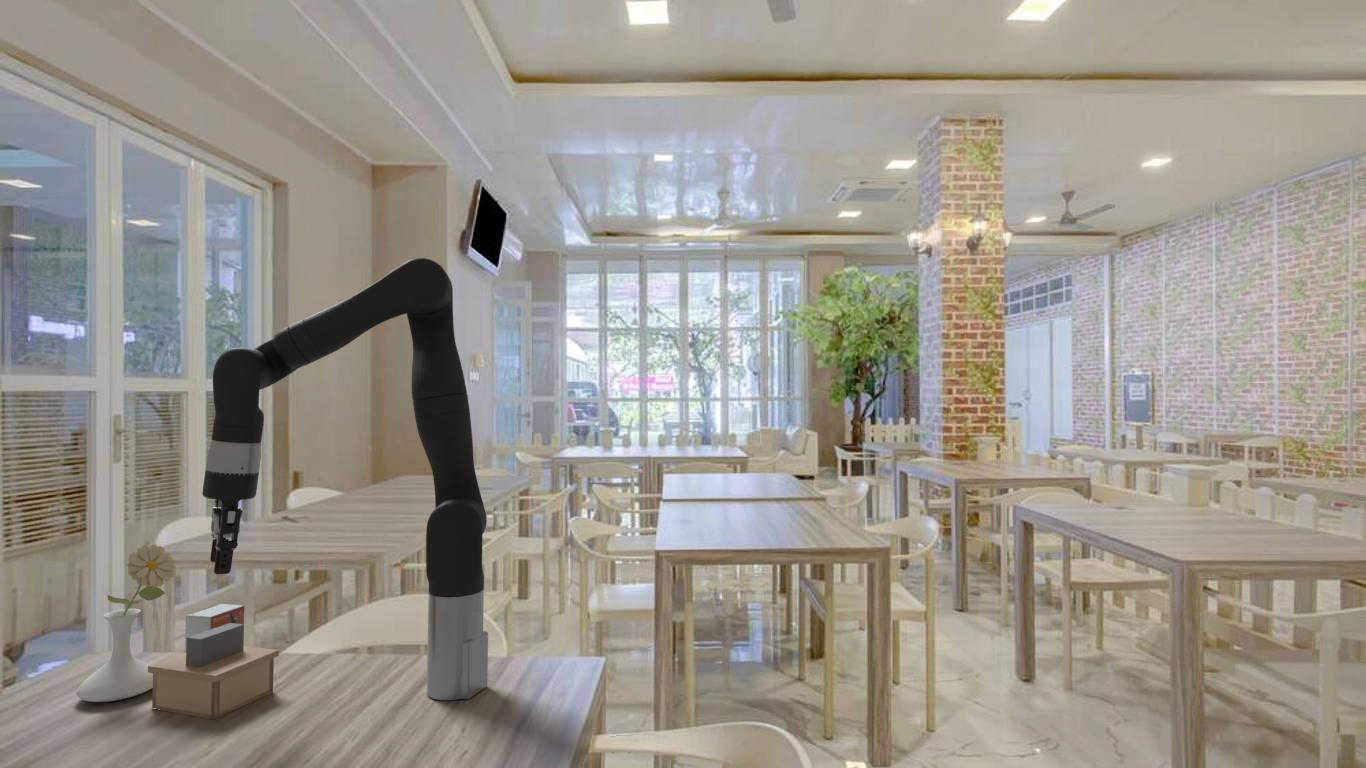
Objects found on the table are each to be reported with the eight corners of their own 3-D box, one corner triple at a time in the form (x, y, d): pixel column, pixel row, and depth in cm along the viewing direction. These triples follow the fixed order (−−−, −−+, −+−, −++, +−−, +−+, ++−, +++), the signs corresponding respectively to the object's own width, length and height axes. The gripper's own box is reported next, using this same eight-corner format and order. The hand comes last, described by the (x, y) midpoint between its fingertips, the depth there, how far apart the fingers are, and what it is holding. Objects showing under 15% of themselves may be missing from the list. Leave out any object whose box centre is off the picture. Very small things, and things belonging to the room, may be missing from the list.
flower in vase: (86, 715, 112) (91, 556, 112) (67, 697, 119) (72, 547, 119) (182, 689, 122) (186, 544, 123) (160, 673, 129) (163, 536, 130)
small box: (208, 675, 128) (210, 617, 129) (183, 672, 130) (184, 615, 130) (244, 659, 136) (245, 604, 137) (219, 657, 137) (221, 603, 138)
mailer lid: (278, 655, 122) (279, 623, 122) (215, 682, 110) (216, 646, 110) (215, 647, 125) (216, 616, 126) (147, 672, 114) (148, 638, 114)
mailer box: (273, 691, 121) (273, 656, 121) (214, 719, 111) (215, 680, 111) (214, 683, 125) (214, 649, 125) (152, 709, 114) (153, 671, 114)
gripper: (264, 475, 113) (251, 576, 112) (254, 464, 124) (241, 556, 123) (208, 473, 108) (194, 579, 107) (203, 462, 119) (190, 558, 119)
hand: (219, 567), depth 115 cm, fingers open, 8 cm apart
